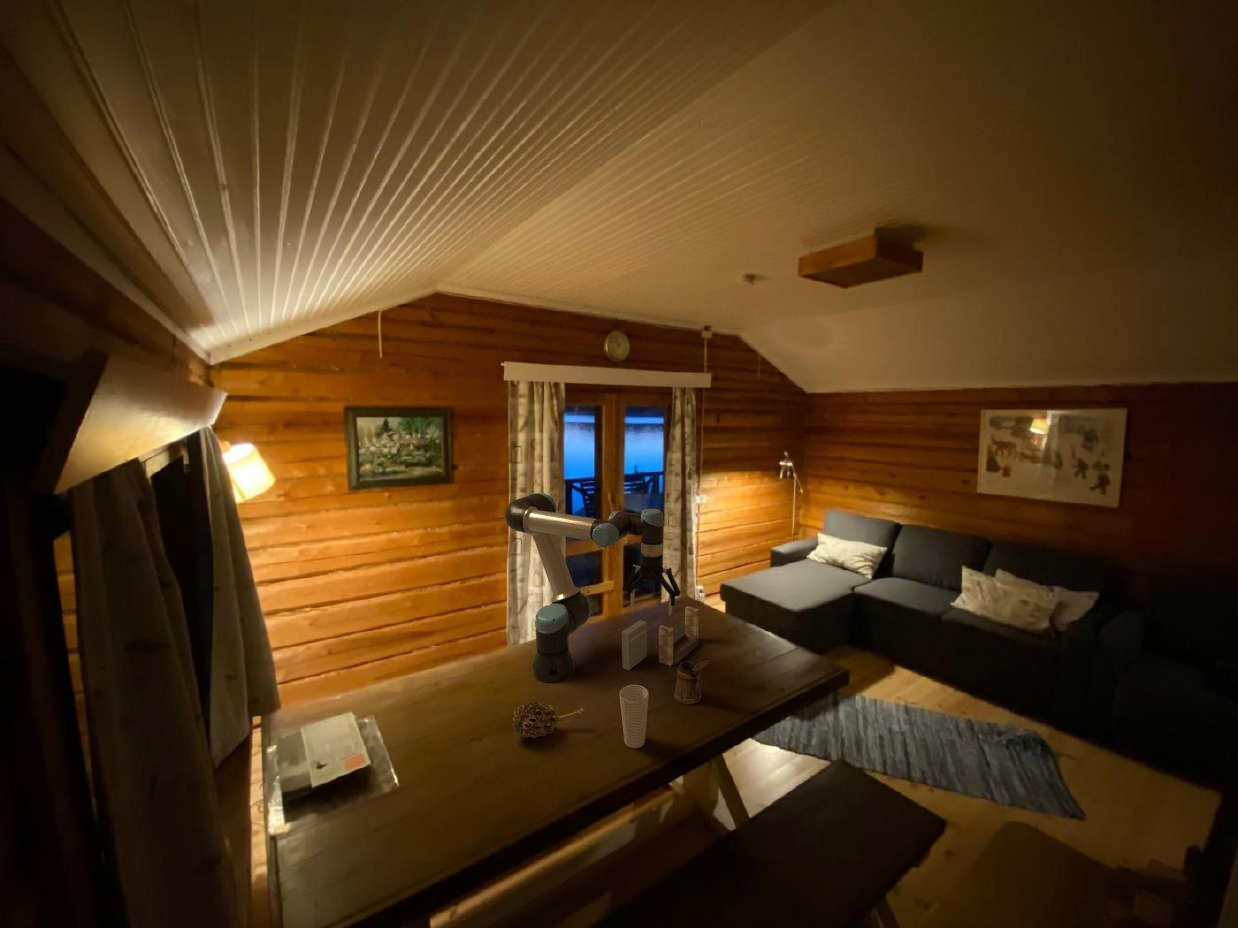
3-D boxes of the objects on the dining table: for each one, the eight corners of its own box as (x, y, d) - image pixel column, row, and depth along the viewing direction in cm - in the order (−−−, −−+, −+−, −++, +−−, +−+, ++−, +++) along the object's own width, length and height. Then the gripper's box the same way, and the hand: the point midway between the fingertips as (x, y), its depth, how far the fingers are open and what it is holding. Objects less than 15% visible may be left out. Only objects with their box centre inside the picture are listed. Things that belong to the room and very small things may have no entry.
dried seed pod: (515, 751, 146) (513, 719, 144) (510, 730, 155) (509, 700, 153) (589, 733, 153) (588, 702, 151) (581, 714, 162) (580, 685, 160)
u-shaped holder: (656, 660, 192) (655, 626, 190) (684, 637, 210) (684, 605, 208) (673, 667, 188) (673, 631, 186) (701, 642, 205) (701, 609, 203)
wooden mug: (694, 715, 160) (694, 662, 157) (668, 693, 172) (668, 644, 169) (715, 706, 165) (716, 654, 162) (689, 685, 176) (690, 637, 173)
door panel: (622, 667, 188) (621, 632, 186) (640, 653, 198) (639, 619, 196) (629, 670, 186) (628, 634, 184) (647, 656, 196) (646, 621, 194)
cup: (614, 741, 149) (613, 692, 147) (634, 727, 155) (633, 680, 153) (635, 756, 143) (634, 705, 141) (655, 741, 149) (655, 692, 147)
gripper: (614, 553, 177) (614, 611, 180) (686, 560, 170) (684, 620, 174) (620, 547, 184) (619, 602, 187) (689, 553, 177) (687, 610, 181)
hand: (651, 611), depth 180 cm, fingers open, 13 cm apart
